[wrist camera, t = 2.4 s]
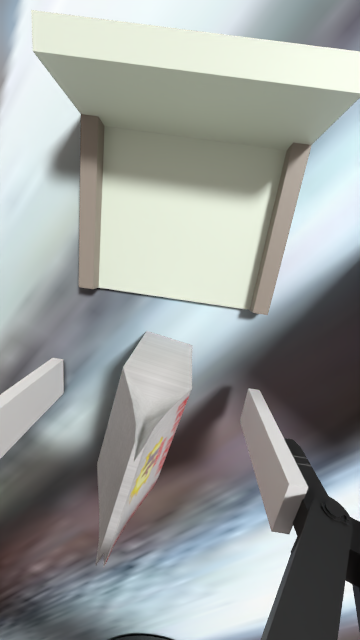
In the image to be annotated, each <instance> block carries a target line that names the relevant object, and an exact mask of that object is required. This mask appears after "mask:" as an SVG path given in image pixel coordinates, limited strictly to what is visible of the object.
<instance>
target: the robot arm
mask: <svg viewBox="0 0 360 640" xmlns="http://www.w3.org/2000/svg"><path fill="white" fill-rule="evenodd" d="M63 393H64V383H63V359H56V358H52V359H50V360H49V361H47V362H46V363H45V364H43V365H42V366H40V367H39V368H38V369H36V370H35V371H33V372H32V373H30V374H29V375H28V376H26V377H25V378H23V379H22V380H21V381H19V382H18V383H16V384H15V385H13V386H12V387H11V388H9V389H8V390H6V391H5V392H4V393H2V394H0V459H1V458H2V457H3V455H4V454H5V453H6V452H7V451H8V450H9V449H10V448H11V447H12V446H13V445H14V444H15V443H16V442H17V441H18V440H19V439H20V438H21V437H22V436H23V435H24V434H25V433H26V432H27V431H28V430H29V429H30V427H31V426H32V425H33V424H34V423H35V422H36V421H37V420H38V419H39V418H40V417H41V416H42V415H43V414H44V413H45V412H46V411H47V410H48V409H49V408H50V407H51V406H52V405H53V404H54V403H55V402H56V400H57V399H58V398H59V397H60V396H61V395H62V394H63ZM240 423H241V426H242V430H243V433H244V437H245V440H246V444H247V447H248V451H249V454H250V458H251V461H252V465H253V468H254V472H255V475H256V479H257V482H258V486H259V489H260V493H261V496H262V500H263V503H264V507H265V510H266V514H267V517H268V521H269V524H270V528H271V531H273V532H279V533H285V534H290V531H291V529H292V526H294V528H295V531H296V534H297V539H296V541H295V543H294V546H293V548H292V550H291V555H290V558H289V561H288V564H287V567H286V569H285V572H284V575H283V578H282V581H281V584H280V586H279V589H278V592H277V595H276V598H275V601H274V604H273V606H272V609H271V612H270V615H269V618H268V621H267V623H266V626H265V629H264V632H263V635H262V638H261V640H337V638H338V631H339V623H340V616H341V609H342V601H343V594H344V586H345V580H346V581H348V582H350V583H351V584H352V585H353V591H354V598H355V604H356V611H357V618H358V624H359V631H360V522H359V521H357V520H355V519H353V518H351V517H350V516H349V514H348V513H347V511H346V510H345V509H344V508H343V507H342V506H341V505H340V504H339V503H338V502H337V501H335V500H334V499H332V498H330V497H329V496H328V495H327V493H326V491H325V489H324V488H323V486H322V484H321V482H320V480H319V479H318V477H317V475H316V473H315V472H314V470H313V468H312V467H311V465H310V463H309V461H308V459H306V456H305V454H304V452H303V451H302V449H301V448H300V446H299V445H298V444H297V443H296V442H295V441H294V440H292V439H285V438H283V436H282V434H281V432H280V430H279V428H278V426H277V424H276V422H275V420H274V418H273V416H272V414H271V412H270V410H269V408H268V406H267V404H266V402H265V400H264V398H263V396H262V394H261V392H260V390H256V389H250V388H248V392H247V396H246V400H245V403H244V407H243V411H242V415H241V419H240ZM115 640H167V639H163V638H158V637H152V636H127V637H122V638H118V639H115Z"/></svg>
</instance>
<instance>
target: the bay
mask: <svg viewBox="0 0 360 640" xmlns="http://www.w3.org/2000/svg"><path fill="white" fill-rule="evenodd" d="M31 13H32V42H33V52H34V53H35V54H36V56H37V57H38V58H39V60H40V61H41V62H42V64H43V65H44V66H45V68H46V69H47V70H48V72H49V73H50V74H51V75H52V77H53V78H54V79H55V81H56V82H57V83H58V85H59V86H60V87H61V89H62V90H63V91H64V93H65V94H66V95H67V96H68V98H69V99H70V100H71V102H72V103H73V104H74V106H75V107H76V108H77V110H78V111H79V112H80V114H81V142H80V227H79V287H82V288H89V289H95V288H105V289H112V290H119V291H125V292H132V293H139V294H146V295H152V296H159V297H166V298H173V299H179V300H186V301H193V302H200V303H206V304H213V305H220V306H227V307H234V308H240V309H247V310H250V311H251V312H253V313H258V314H265V315H268V312H269V308H270V304H271V300H272V296H273V292H274V288H275V285H276V281H277V277H278V273H279V269H280V265H281V261H282V257H283V254H284V250H285V246H286V242H287V238H288V234H289V230H290V226H291V222H292V219H293V215H294V211H295V207H296V203H297V199H298V195H299V191H300V188H301V184H302V180H303V176H304V172H305V168H306V164H307V160H308V156H309V153H310V149H311V145H312V144H313V143H314V142H315V141H316V140H317V139H318V138H319V137H320V136H321V135H322V134H323V133H324V132H325V131H326V130H327V129H328V128H329V127H330V126H331V125H332V124H334V123H335V122H336V121H337V120H338V119H339V118H340V117H341V116H342V115H343V114H344V113H345V112H346V111H347V110H348V109H349V108H350V107H351V106H352V105H353V104H354V103H355V102H356V101H357V100H358V99H359V98H360V52H358V51H350V50H342V49H334V48H327V47H319V46H311V45H303V44H295V43H287V42H279V41H271V40H263V39H256V38H248V37H240V36H232V35H224V34H216V33H208V32H200V31H192V30H184V29H177V28H169V27H161V26H153V25H145V24H137V23H129V22H121V21H113V20H105V19H98V18H90V17H82V16H74V15H66V14H58V13H50V12H42V11H34V10H31Z"/></svg>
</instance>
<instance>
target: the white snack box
mask: <svg viewBox="0 0 360 640" xmlns="http://www.w3.org/2000/svg"><path fill="white" fill-rule="evenodd" d="M191 389H192V345H190V344H187V343H184V342H180V341H177V340H174V339H171V338H168V337H165V336H161V335H158V334H155V333H152V332H149V331H146V333H145V334H144V336H143V337H142V339H141V340H140V342H139V343H138V345H137V347H136V348H135V350H134V351H133V353H132V354H131V356H130V357H129V359H128V360H127V362H126V363H125V365H124V366H123V369H122V373H121V377H120V380H119V384H118V388H117V392H116V395H115V399H114V403H113V407H112V411H111V414H110V418H109V422H108V426H107V429H106V433H105V437H104V441H103V444H102V448H101V452H100V456H99V459H98V463H97V473H98V492H99V512H100V518H99V545H98V552H97V559H96V564H97V563H98V561H99V560H100V558H101V557H102V556H103V554H104V566H105V564H106V562H107V560H108V557H109V555H110V553H111V551H112V548H113V546H114V545H115V543H116V541H117V540H118V538H119V536H120V535H121V533H122V531H123V530H124V528H125V526H126V524H127V523H128V521H129V520H130V518H131V517H132V516H133V514H134V513H135V511H136V510H137V509H138V507H139V506H140V504H141V503H142V502H143V500H144V499H145V497H146V496H147V495H148V493H149V492H150V490H151V489H152V488H153V486H154V485H155V483H156V482H157V479H158V477H159V474H160V471H161V469H162V466H163V463H164V461H165V458H166V455H167V453H168V450H169V448H170V445H171V442H172V440H173V437H174V434H175V432H176V429H177V426H178V424H179V421H180V418H181V416H182V413H183V410H184V408H185V405H186V402H187V400H188V397H189V395H190V392H191Z"/></svg>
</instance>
